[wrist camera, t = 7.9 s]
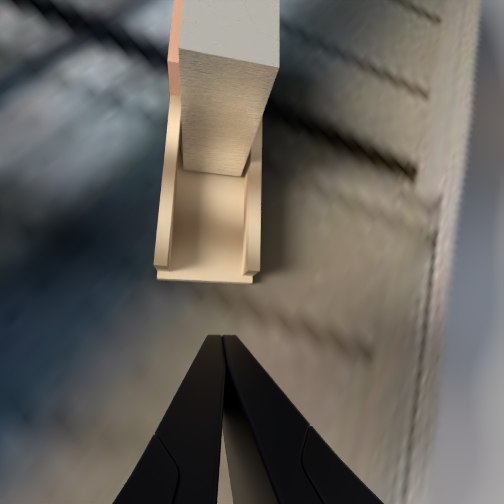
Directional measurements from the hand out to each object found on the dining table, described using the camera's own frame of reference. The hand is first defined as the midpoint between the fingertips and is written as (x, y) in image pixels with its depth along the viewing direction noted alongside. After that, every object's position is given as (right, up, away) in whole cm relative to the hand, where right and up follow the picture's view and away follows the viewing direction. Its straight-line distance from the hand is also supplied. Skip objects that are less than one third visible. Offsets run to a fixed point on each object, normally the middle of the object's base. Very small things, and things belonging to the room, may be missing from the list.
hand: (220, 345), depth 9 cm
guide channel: (-2, +10, +16) cm, 19 cm away
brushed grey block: (-2, +13, +15) cm, 20 cm away
